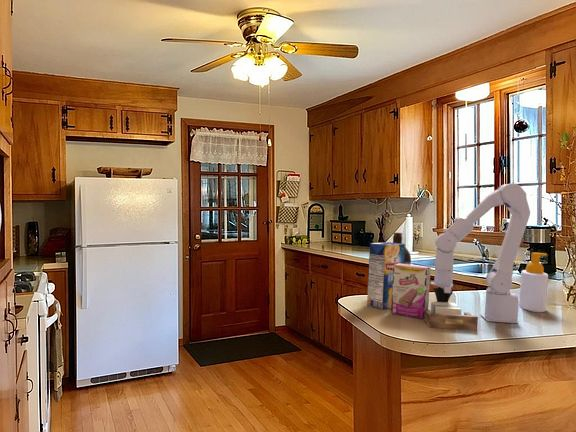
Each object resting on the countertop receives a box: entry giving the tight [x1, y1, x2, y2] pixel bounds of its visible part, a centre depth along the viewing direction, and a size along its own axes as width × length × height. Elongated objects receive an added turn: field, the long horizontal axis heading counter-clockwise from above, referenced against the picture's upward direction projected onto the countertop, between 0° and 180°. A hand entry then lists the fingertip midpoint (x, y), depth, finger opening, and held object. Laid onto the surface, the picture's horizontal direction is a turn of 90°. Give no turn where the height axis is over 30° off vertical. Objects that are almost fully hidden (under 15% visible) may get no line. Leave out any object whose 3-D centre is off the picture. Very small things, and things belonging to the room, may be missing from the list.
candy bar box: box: [390, 263, 432, 320], centre depth 155 cm, size 11×5×16 cm, turn 59°
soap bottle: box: [518, 252, 549, 313], centre depth 172 cm, size 13×8×20 cm, turn 168°
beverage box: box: [366, 241, 406, 310], centre depth 168 cm, size 7×11×22 cm, turn 130°
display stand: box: [424, 309, 479, 332], centre depth 145 cm, size 14×10×4 cm
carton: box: [430, 301, 462, 315], centre depth 152 cm, size 8×9×4 cm
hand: (441, 310), depth 158 cm, fingers closed
